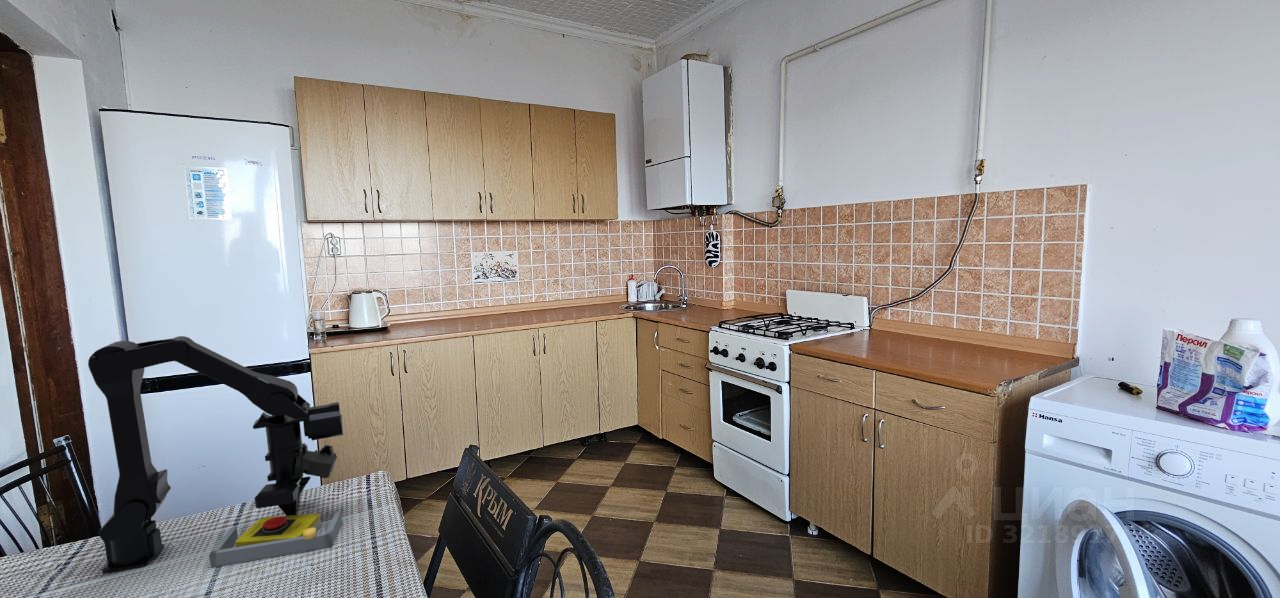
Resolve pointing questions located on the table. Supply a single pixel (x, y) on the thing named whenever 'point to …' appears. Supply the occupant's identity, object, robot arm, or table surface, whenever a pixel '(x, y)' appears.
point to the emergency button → (278, 528)
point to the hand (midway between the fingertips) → (293, 518)
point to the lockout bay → (273, 545)
